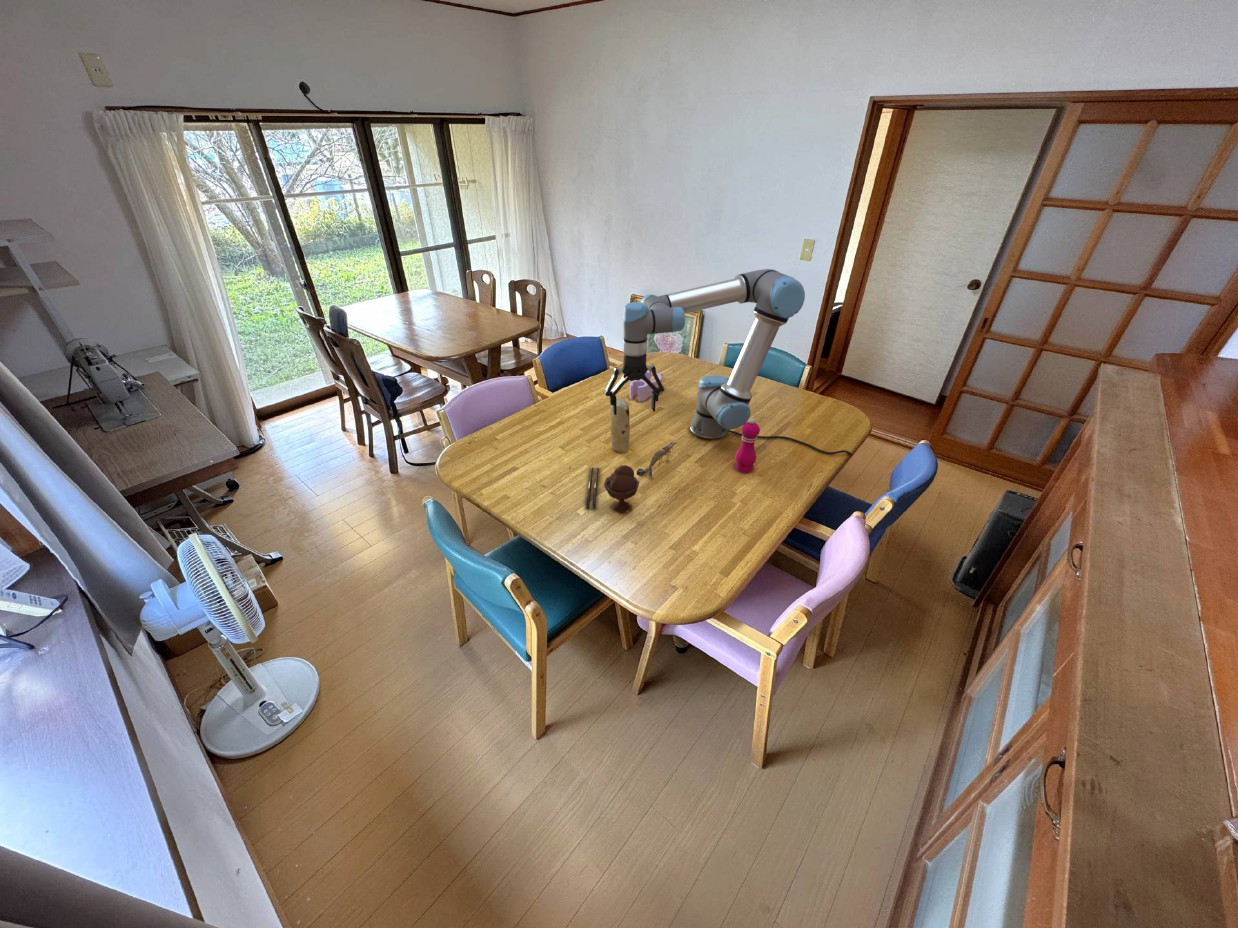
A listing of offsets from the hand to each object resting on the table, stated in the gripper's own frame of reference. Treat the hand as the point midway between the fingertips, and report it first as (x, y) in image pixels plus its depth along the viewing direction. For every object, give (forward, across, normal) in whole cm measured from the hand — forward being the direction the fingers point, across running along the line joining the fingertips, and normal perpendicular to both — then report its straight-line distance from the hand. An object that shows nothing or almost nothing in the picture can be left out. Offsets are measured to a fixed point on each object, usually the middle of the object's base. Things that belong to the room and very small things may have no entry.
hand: (634, 411), depth 167 cm
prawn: (+20, -8, +6) cm, 23 cm away
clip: (+20, -17, -56) cm, 62 cm away
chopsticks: (+20, +17, +15) cm, 30 cm away
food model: (+20, +3, -9) cm, 23 cm away
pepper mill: (+20, -38, +12) cm, 45 cm away
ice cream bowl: (+20, +9, +26) cm, 35 cm away
